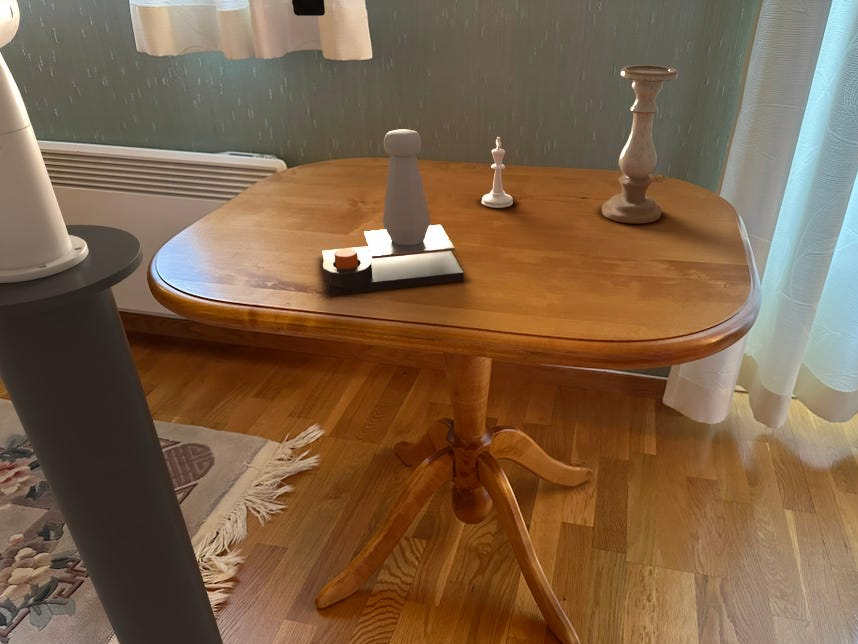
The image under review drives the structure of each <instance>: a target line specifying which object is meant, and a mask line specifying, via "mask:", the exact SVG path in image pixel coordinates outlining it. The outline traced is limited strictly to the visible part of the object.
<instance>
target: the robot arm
mask: <svg viewBox="0 0 858 644" xmlns="http://www.w3.org/2000/svg"><path fill="white" fill-rule="evenodd" d="M291 4H292V9H293V14H294V15H295V16H297V17H303V16H304V17H315V16H316V17H323V16H324V15H325V14H326V8H325V0H291ZM20 18H21V17H20V9H19V5H18V1H17V0H0V49H1V48H3V47H4V46H6V45H7V44H9V43H10V42H11V41H12V40H13V39H14V37H15V35H16V34H17V32H18V30H19V25H20ZM25 105H26V104H25V102H24V100H23V98H22V94H21V91H20V90H19V88H18V85H17V83H16V81H15V79H14V77H13V75H12V72H11V71H10V69H9V67H8V65H7V63H6V61H5V59H4V57H3V55H2V52H0V283H15V282H24V281H30V280H35V279H40V278H44V277H48V276H51V275H55V274H57V273H60V272H63V271H66V270H68V269H70V268H72V267H74V266H76V265H77V264H79V263H80V262H82V261H83V260H84V259H85V258H86V256H87V255H88V252H89V250H88V247H87V244H86V242H85V241H84V240H83V239H81V238H79V237H76V236H72V235H68V232H67V229H66V226H65V225H66V224H65V220H64V218H63V214H62V211H61V209H60V205H59V203H58V199H57V196H56V194H55V190H54V188H53V184H52V181H51V179H50V175H49V173H48V170H47V167H46V163H45V161H44V157H43V155H42V151H41V149H40V146H39V142H38V140H37V137H36V134H35V131H34V129H33V125H32V122H31V120H30V117H29V113H28V111H27V108H26V106H25Z"/></svg>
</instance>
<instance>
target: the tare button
mask: <svg viewBox="0 0 858 644" xmlns="http://www.w3.org/2000/svg"><path fill="white" fill-rule="evenodd" d="M351 248H352V247H346V248H344V247H343V248H338V249H339V250H337V251H335V253H334V255H335V264H336V268H338V269H353V268H355V267H358V255H357V251H356V250H355V249H351Z"/></svg>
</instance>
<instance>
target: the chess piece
mask: <svg viewBox="0 0 858 644" xmlns="http://www.w3.org/2000/svg"><path fill="white" fill-rule="evenodd" d="M495 144H496V147H495V148H493V149H492V150H491V154H492V157H493V162H494V163H493V164H491V166H490V168H491V169H492V170H494V174H493V182H492V189H491V190H490V192H489V193H486V194H484V195H483V196H482V198H481V204H482V205H483V206H484V207H488V208H494V209H502V208H503V209H504V208H508V207H511V206H512V205H513V203H514V197H512V196H511V195H510V194H508V193H506V191H504V187H503V179H502V178H503V177H502V176H503V175H502V170H505V169H506V166H505V164H503V163H502V162H503V160H504V156H505V154H506V150H505V149H503V148H501V147H502V142H501V136H496V140H495Z"/></svg>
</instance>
